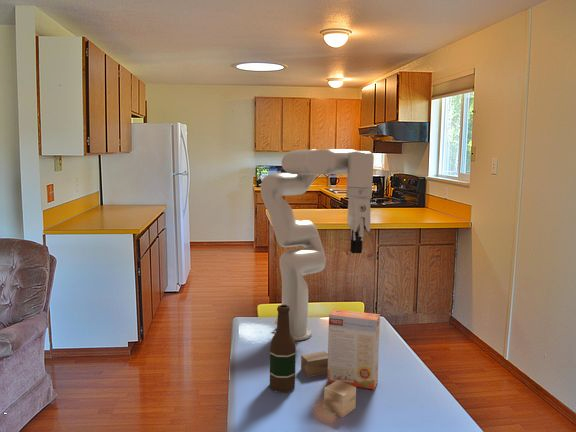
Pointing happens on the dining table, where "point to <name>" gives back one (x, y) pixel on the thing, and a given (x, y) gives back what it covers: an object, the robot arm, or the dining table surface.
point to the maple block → (339, 398)
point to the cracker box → (353, 348)
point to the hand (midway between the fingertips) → (355, 252)
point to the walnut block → (314, 363)
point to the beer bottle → (282, 354)
